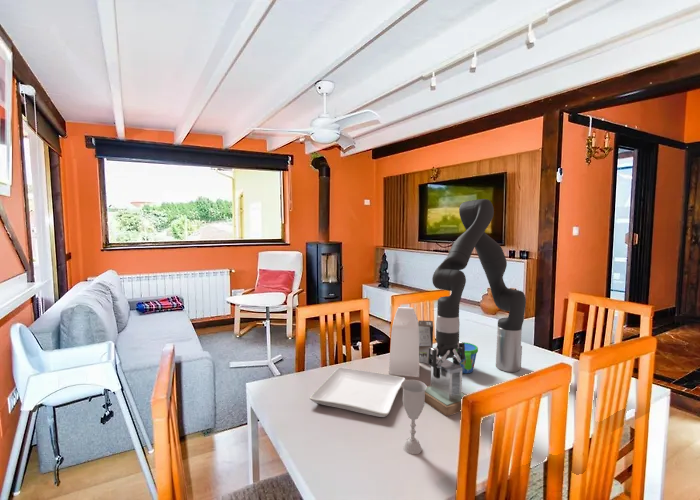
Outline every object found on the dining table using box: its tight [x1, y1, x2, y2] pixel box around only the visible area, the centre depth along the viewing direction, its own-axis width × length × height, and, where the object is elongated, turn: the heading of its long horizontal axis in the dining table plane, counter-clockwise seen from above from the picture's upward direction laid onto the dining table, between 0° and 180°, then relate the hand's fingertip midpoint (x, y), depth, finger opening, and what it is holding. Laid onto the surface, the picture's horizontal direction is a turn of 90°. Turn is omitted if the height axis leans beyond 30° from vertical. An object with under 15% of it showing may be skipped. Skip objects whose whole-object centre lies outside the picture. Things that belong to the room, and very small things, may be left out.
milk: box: [388, 306, 420, 378], centre depth 154 cm, size 12×12×26 cm
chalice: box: [401, 379, 428, 455], centre depth 103 cm, size 7×7×18 cm
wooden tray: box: [425, 385, 468, 418], centre depth 129 cm, size 12×14×3 cm
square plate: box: [309, 366, 406, 418], centre depth 134 cm, size 27×27×4 cm
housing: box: [430, 359, 463, 400], centre depth 128 cm, size 6×9×10 cm, turn 29°
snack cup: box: [452, 341, 479, 374], centre depth 155 cm, size 16×10×10 cm
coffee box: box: [418, 320, 434, 364], centre depth 166 cm, size 9×6×16 cm
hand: (446, 374), depth 128 cm, fingers open, 8 cm apart
